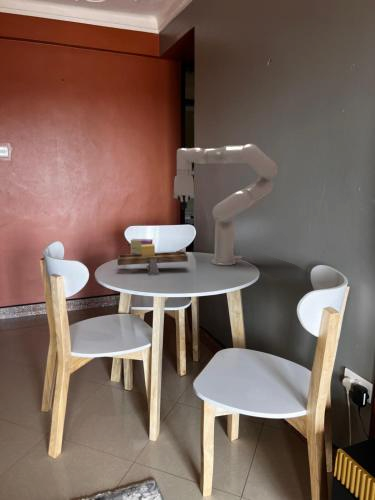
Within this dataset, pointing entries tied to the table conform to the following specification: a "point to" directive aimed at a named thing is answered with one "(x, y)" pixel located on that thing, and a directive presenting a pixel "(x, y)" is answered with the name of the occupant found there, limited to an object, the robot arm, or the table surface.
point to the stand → (153, 267)
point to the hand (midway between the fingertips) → (183, 209)
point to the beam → (161, 257)
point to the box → (139, 245)
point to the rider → (148, 250)
